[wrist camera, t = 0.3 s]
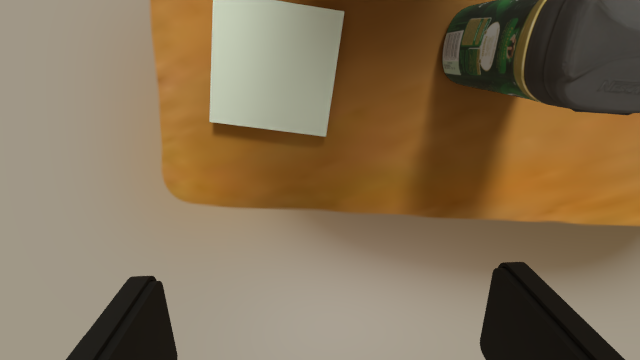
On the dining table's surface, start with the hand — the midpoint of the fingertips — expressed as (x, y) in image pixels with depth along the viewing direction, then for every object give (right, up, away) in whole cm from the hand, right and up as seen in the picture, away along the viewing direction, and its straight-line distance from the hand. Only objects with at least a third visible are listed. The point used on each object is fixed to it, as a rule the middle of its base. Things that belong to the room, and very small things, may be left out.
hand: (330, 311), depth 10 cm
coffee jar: (+17, +17, +26) cm, 35 cm away
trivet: (-5, +15, +26) cm, 30 cm away
